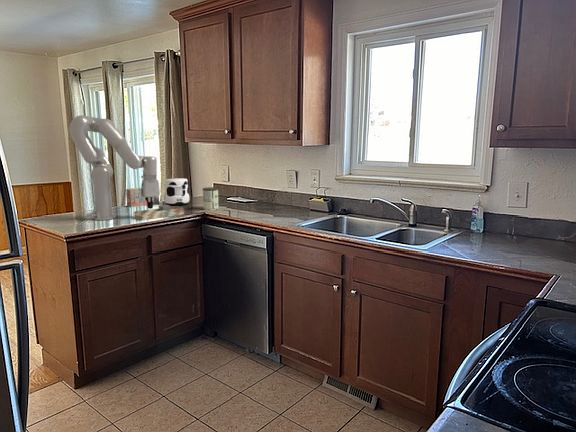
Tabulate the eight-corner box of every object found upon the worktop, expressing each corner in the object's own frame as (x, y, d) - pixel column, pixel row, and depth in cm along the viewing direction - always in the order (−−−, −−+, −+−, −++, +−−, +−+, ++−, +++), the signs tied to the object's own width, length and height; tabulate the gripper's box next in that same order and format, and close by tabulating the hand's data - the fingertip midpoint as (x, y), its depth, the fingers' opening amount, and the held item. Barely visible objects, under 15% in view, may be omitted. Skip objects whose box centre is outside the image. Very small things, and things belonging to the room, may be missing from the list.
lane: (142, 220, 252) (142, 213, 251) (134, 218, 258) (134, 211, 258) (184, 214, 272) (183, 208, 271) (175, 212, 278) (175, 206, 278)
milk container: (176, 202, 323) (175, 177, 319) (194, 203, 315) (193, 178, 312) (159, 205, 307) (158, 179, 304) (178, 207, 300) (177, 180, 296)
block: (163, 213, 264) (163, 206, 263) (158, 212, 268) (158, 205, 267) (170, 212, 268) (170, 205, 267) (166, 211, 271) (165, 204, 270)
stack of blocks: (154, 203, 317) (154, 186, 315) (159, 204, 313) (158, 187, 311) (126, 206, 302) (125, 188, 300) (131, 207, 298) (130, 189, 296)
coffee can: (205, 207, 298) (205, 187, 295) (220, 208, 297) (219, 187, 294) (201, 210, 288) (200, 188, 285) (216, 210, 287) (216, 189, 284)
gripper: (141, 178, 249) (141, 210, 253) (164, 177, 260) (164, 208, 263) (134, 177, 254) (135, 208, 258) (158, 176, 265) (158, 206, 268)
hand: (150, 208), depth 260 cm, fingers closed
